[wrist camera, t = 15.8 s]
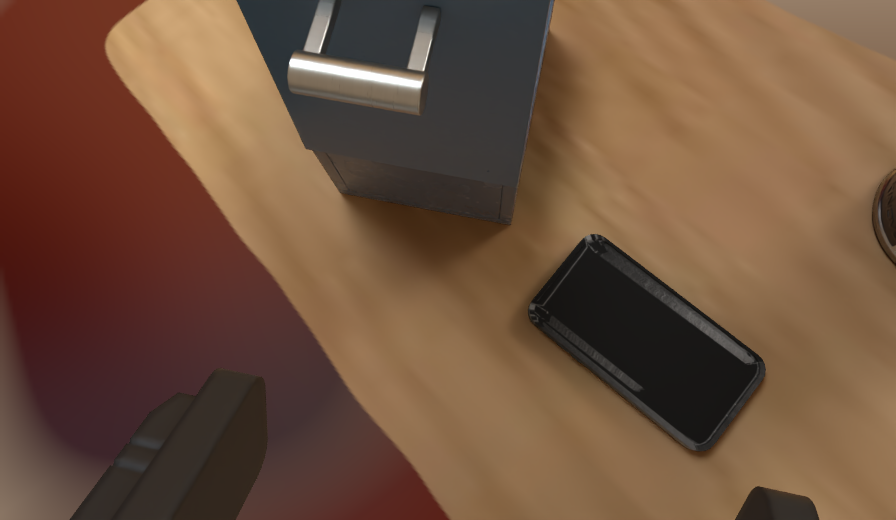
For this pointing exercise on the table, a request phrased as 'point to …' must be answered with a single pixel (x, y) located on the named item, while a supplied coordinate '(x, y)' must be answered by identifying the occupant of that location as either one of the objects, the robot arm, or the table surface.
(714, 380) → the phone
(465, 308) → the table surface
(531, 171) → the table surface
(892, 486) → the table surface
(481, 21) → the freezer lid
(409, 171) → the freezer
